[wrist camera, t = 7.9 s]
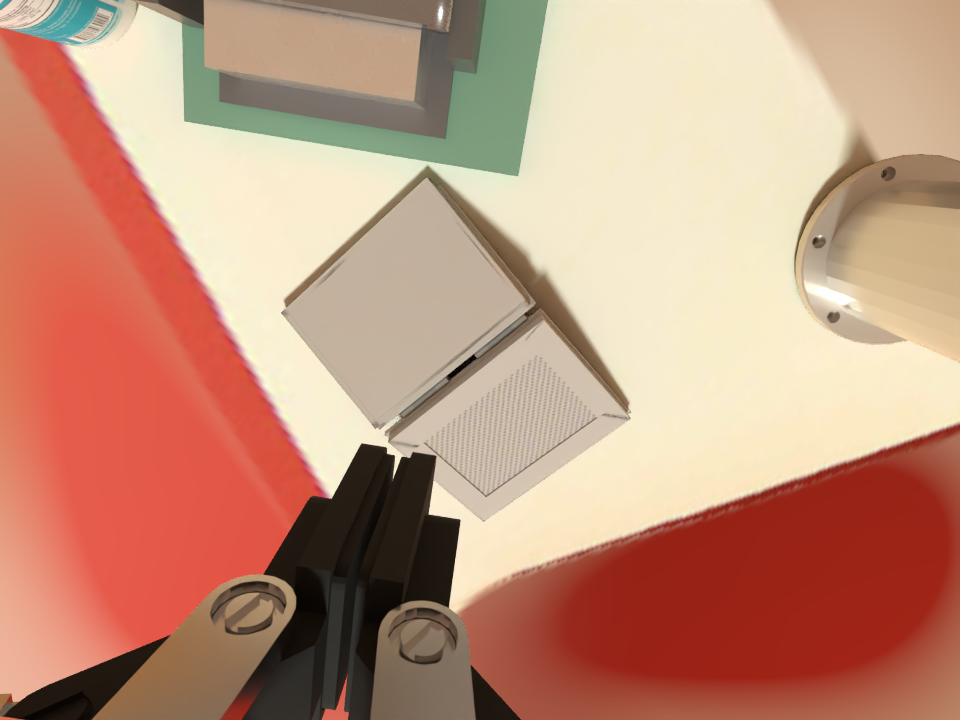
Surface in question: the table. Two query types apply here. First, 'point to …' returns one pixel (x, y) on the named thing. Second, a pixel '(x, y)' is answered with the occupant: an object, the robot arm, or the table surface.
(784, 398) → the table surface
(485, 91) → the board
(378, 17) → the strap
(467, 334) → the gadget
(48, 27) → the pill bottle
